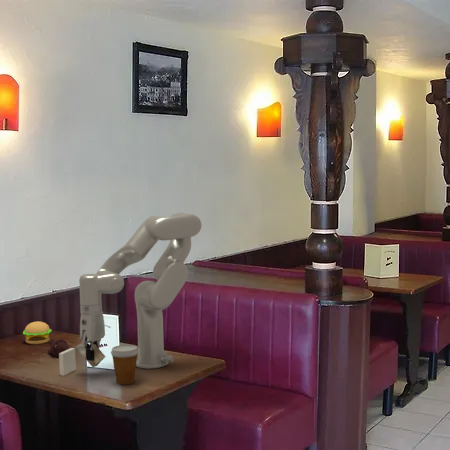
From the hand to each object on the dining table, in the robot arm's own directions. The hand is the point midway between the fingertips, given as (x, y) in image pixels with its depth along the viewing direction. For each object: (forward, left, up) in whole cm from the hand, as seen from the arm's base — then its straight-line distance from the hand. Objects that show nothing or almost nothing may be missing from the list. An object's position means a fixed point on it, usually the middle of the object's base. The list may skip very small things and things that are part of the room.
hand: (92, 358), depth 257 cm
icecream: (+26, -18, -6) cm, 32 cm away
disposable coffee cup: (-15, +4, -6) cm, 17 cm away
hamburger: (+49, -35, -6) cm, 60 cm away
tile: (+11, 0, -6) cm, 12 cm away
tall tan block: (+3, 0, +1) cm, 3 cm away
